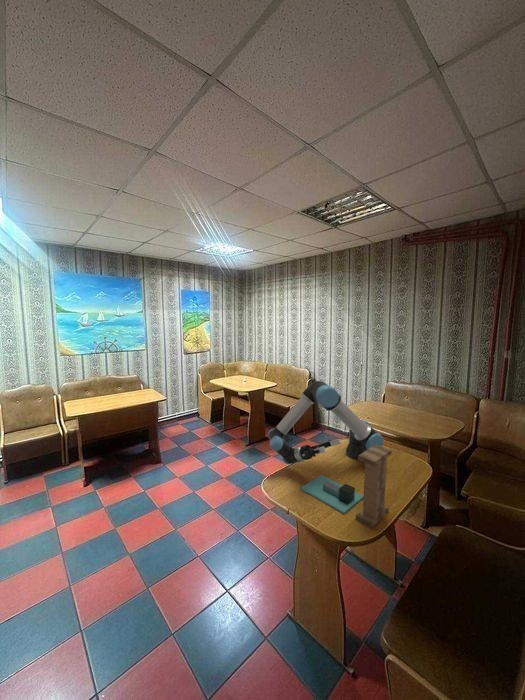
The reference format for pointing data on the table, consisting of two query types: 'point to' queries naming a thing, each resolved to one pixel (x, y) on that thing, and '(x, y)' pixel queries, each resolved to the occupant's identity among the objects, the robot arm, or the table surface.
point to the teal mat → (317, 491)
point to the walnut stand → (374, 485)
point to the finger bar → (340, 492)
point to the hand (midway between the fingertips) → (332, 445)
